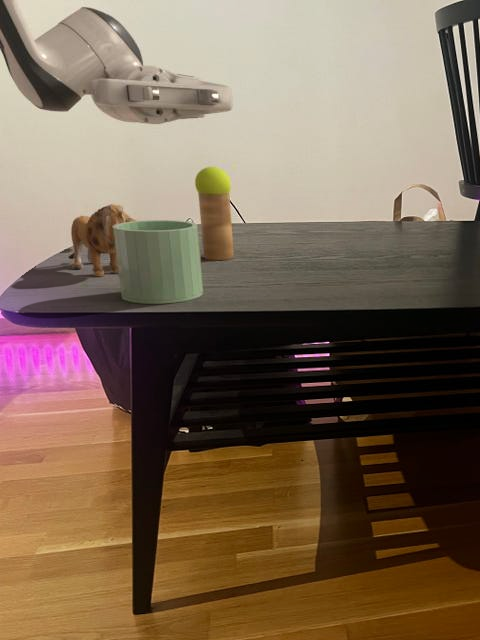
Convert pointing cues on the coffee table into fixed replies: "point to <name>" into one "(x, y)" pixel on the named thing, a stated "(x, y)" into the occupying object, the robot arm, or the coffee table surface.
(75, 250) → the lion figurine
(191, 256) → the green faceted pot
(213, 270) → the coffee table surface
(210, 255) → the ball peg
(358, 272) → the coffee table surface
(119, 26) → the robot arm
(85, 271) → the coffee table surface
